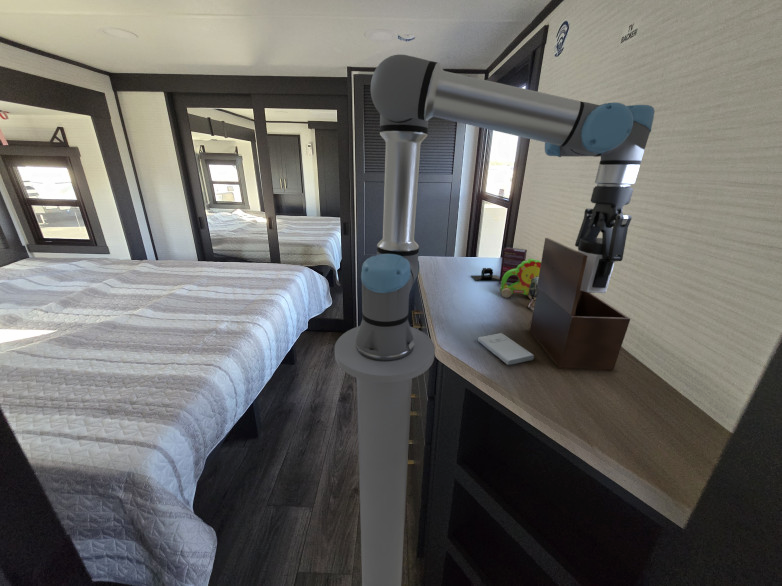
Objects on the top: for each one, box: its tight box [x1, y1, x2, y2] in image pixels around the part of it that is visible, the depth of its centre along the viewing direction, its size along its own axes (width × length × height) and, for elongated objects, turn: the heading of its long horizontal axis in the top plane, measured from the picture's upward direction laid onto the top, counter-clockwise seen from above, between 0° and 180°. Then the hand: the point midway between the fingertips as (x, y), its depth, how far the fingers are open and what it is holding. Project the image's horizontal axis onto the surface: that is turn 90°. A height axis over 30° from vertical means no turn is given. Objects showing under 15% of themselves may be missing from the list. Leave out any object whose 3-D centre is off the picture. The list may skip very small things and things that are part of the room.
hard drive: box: [477, 332, 535, 366], centre depth 84 cm, size 2×8×12 cm
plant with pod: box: [527, 276, 539, 312], centre depth 106 cm, size 8×11×20 cm
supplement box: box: [498, 246, 528, 287], centre depth 129 cm, size 9×5×16 cm, turn 59°
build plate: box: [470, 267, 500, 282], centre depth 140 cm, size 12×7×5 cm, turn 95°
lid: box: [537, 237, 587, 315], centre depth 78 cm, size 14×19×1 cm
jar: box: [577, 237, 616, 294], centre depth 77 cm, size 9×8×12 cm
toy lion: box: [499, 258, 541, 301], centre depth 118 cm, size 16×5×15 cm, turn 81°
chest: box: [529, 288, 631, 371], centre depth 83 cm, size 13×19×14 cm
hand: (588, 281), depth 78 cm, fingers closed on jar, 8 cm apart
